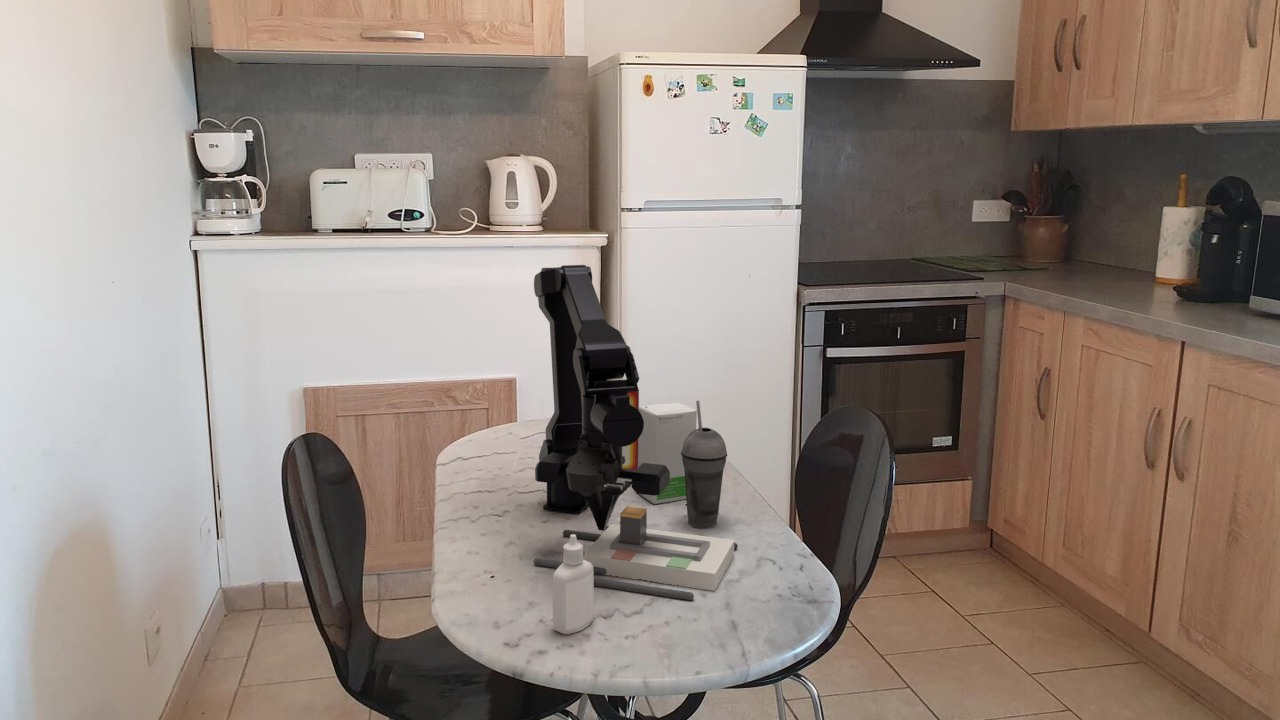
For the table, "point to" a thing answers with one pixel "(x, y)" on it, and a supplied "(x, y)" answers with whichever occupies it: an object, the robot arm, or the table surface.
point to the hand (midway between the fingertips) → (602, 529)
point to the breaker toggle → (633, 525)
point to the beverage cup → (703, 474)
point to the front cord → (622, 584)
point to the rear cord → (594, 535)
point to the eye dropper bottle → (573, 590)
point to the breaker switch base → (664, 558)
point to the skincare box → (666, 444)
